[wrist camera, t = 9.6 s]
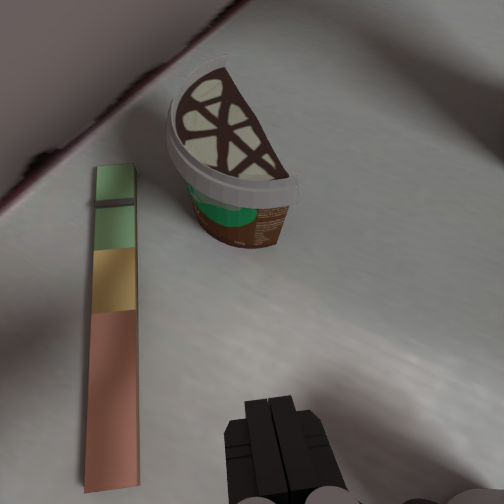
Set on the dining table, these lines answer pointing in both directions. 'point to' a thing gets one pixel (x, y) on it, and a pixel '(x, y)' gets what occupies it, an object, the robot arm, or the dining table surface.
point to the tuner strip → (114, 336)
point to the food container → (227, 160)
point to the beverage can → (479, 497)
